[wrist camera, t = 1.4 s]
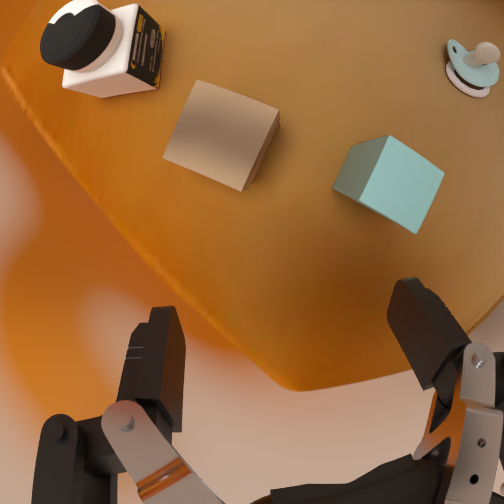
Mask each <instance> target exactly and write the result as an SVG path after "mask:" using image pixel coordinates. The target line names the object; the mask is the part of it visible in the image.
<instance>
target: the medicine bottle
mask: <svg viewBox="0 0 504 504" xmlns="http://www.w3.org/2000/svg"><path fill="white" fill-rule="evenodd" d="M164 37H165V30H164V29H163V28H162V27H161V26H160V25H159V24H158V23H157V22H156V21H155V20H154V19H153V18H152V17H151V16H150V15H148V14H147V13H146V12H145V11H144V10H143V9H142V8H141V7H140V6H139V5H138V4H131V5H127V6H124V7H120V8H117V9H114V10H109V9H108V8H106V7H105V6H103V5H102V4H101V3H99V2H98V1H97V0H74V1H72V2H70V3H68V4H66V5H65V6H64V7H62V8H61V9H60V10H59V11H58V12H57V13H56V14H55V15H54V16H53V17H52V19H51V20H50V21H49V23H48V25H47V26H46V28H45V30H44V32H43V35H42V38H41V42H40V52H41V56H42V58H43V60H44V61H45V62H46V63H48V64H51V65H54V66H57V67H60V68H64V69H65V70H64V76H63V83H62V86H63V87H64V88H67V89H71V90H74V91H78V92H82V93H85V94H89V95H92V96H96V97H99V98H106V97H111V96H116V95H122V94H128V93H134V92H141V91H148V90H156V89H158V87H159V79H160V69H161V60H162V52H163V44H164Z"/></svg>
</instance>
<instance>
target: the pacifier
mask: <svg viewBox="0 0 504 504" xmlns="http://www.w3.org/2000/svg"><path fill="white" fill-rule="evenodd" d="M453 47H454V48H455V50H456V53H455V52H454V51H453ZM447 49H448V54H449V57H450V60H451V61H449V62H448V63H447V65H446V72H447V75H448V77H449V79H450V80H451V81H452V83H453V84H454V85H455V86H456V87H457V88H458V89H460V90H461V91H463V92H464V93H466V94H468V95H470V96H474V97H485V96H486V95H488V93H489V91H490V86H492V85H494V84H495V83H496V82H497V80H498V78H499V68H498V65H497V63H496V61H498V60H499V58H500V51H499V49H498V48H497V47H496V46H495V45H494V44H492V43H490V42H481V43H479V44H478V45H477V46H476V47H475V49H474V51H471V52H468V51H466V49H465V48H464V47H463V46H462V45H461V44H460V43H458V42H457V41H455V40H453V39H451V40H449V41H448V43H447ZM483 64H487V65H483ZM454 69H455V70H456V72H457V73H458V74H459V75H460V76H461V77H462V78H463V79H464V80H465V81H467V82H468V83H470V84H472V85H475V86H479V87H482V89H481V90H475V89H471V88H469V87H467V86H466V85H464V84H463V83H462V82H461V81H460V80H459V79H458V78H457V77H456V75H455V73H454Z"/></svg>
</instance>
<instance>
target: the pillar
mask: <svg viewBox="0 0 504 504" xmlns="http://www.w3.org/2000/svg"><path fill="white" fill-rule="evenodd" d="M444 174H445V173H444V172H443V171H441V170H440V169H439V168H437V167H436V166H435V165H433V164H432V163H430V162H429V161H428V160H426V159H425V158H423V157H422V156H421V155H419V154H418V153H416V152H415V151H413V150H412V149H410V148H409V147H407V146H406V145H404V144H403V143H401V142H400V141H398V140H397V139H395V138H393V137H392V136H390V135H388V136H384V137H381V138H377V139H374V140H370V141H367V142H363V143H360V144H356V145H353V146H352V148H351V150H350V152H349V154H348V156H347V158H346V160H345V162H344V164H343V166H342V169H341V171H340V173H339V175H338V177H337V179H336V181H335V183H334V185H333V187H332V189H334V190H336V191H338V192H340V193H342V194H343V195H345V196H347V197H349V198H351V199H353V200H354V201H356V202H358V203H360V204H362V205H363V206H365V207H367V208H369V209H371V210H372V211H374V212H376V213H378V214H380V215H382V216H384V217H386V218H387V219H389V220H391V221H393V222H395V223H397V224H398V225H400V226H402V227H404V228H406V229H407V230H409V231H411V232H413V233H415V234H417V232H418V230H419V228H420V226H421V224H422V222H423V220H424V218H425V216H426V214H427V212H428V210H429V208H430V205H431V203H432V201H433V199H434V197H435V195H436V192H437V190H438V188H439V186H440V183H441V181H442V179H443V176H444Z"/></svg>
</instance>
